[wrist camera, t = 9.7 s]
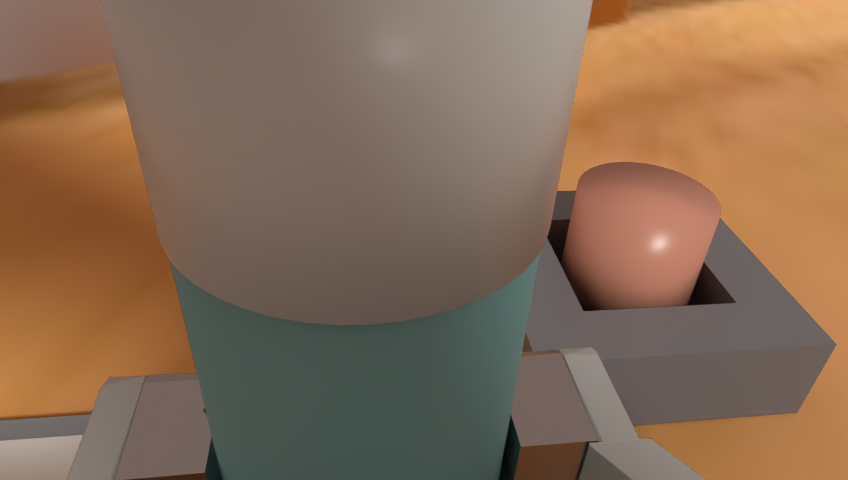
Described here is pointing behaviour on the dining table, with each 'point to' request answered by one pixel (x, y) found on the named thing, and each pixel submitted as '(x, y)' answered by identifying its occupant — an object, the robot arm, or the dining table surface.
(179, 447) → the robot arm
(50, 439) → the picture board
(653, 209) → the button
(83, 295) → the dining table surface
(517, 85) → the marker
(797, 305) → the button housing
